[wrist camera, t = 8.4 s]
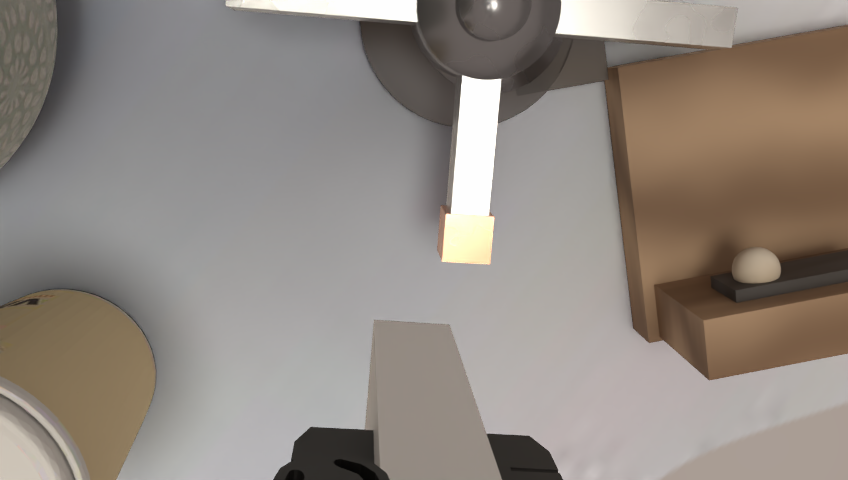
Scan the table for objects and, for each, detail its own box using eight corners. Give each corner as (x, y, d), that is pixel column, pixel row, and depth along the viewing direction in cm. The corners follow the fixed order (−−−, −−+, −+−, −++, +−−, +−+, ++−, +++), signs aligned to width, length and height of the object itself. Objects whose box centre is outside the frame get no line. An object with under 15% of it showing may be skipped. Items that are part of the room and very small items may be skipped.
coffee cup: (58, 225, 33) (-111, 307, 21) (219, 370, 35) (146, 520, 23) (-88, 371, 34) (-328, 528, 22) (78, 505, 36) (-62, 716, 24)
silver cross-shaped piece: (240, 225, 32) (212, 259, 26) (253, -253, 29) (223, -340, 23) (653, 248, 34) (716, 286, 28) (715, -201, 30) (802, -270, 24)
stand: (341, -76, 31) (334, -119, 24) (839, -160, 32) (968, -224, 25) (422, 368, 35) (436, 438, 29) (860, 285, 36) (975, 333, 29)
